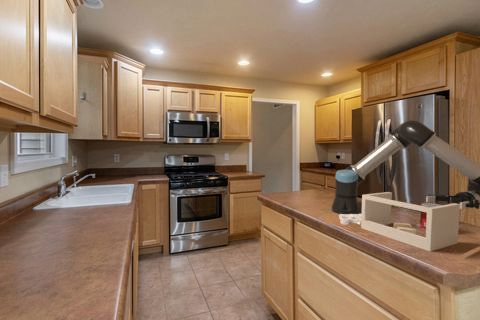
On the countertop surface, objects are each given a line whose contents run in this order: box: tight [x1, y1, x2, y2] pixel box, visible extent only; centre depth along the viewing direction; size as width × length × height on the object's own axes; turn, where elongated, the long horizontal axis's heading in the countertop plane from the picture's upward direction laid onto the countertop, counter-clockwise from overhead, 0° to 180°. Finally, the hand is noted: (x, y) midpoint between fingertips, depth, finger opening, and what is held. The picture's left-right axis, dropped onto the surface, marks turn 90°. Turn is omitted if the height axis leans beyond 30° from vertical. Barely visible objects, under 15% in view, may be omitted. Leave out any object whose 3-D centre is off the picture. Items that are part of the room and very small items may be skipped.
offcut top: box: [393, 221, 417, 235], centre depth 103 cm, size 9×6×2 cm, turn 161°
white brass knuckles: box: [338, 213, 362, 226], centre depth 125 cm, size 3×18×15 cm
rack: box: [360, 191, 461, 252], centre depth 104 cm, size 28×18×16 cm, turn 26°
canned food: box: [419, 202, 443, 230], centre depth 113 cm, size 8×8×11 cm
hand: (442, 202), depth 118 cm, fingers open, 13 cm apart
